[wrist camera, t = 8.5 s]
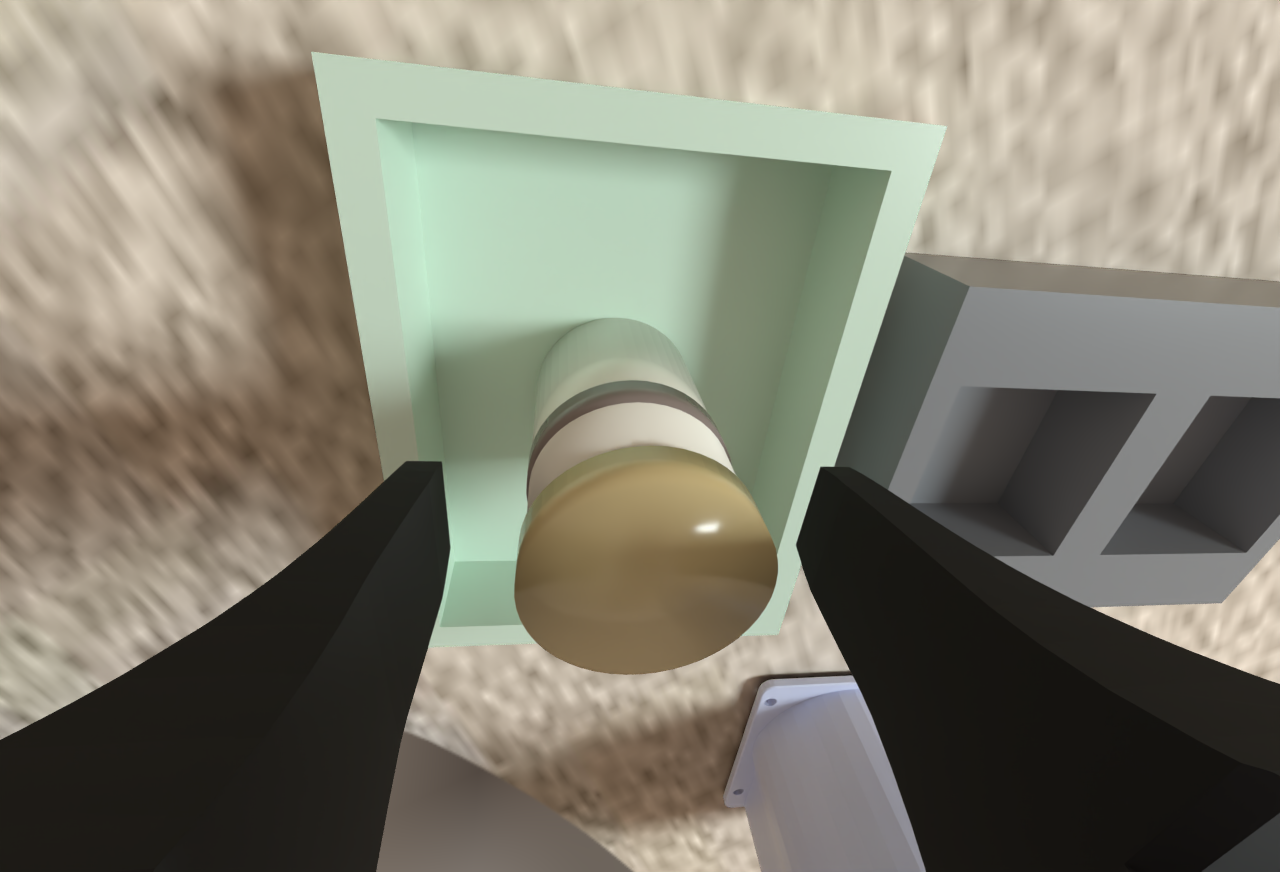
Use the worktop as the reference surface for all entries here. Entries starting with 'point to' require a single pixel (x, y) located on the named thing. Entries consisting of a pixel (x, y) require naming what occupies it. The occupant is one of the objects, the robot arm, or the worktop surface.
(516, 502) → the parts tray
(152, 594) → the worktop surface
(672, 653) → the cylinder
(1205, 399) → the fuse block
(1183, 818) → the robot arm
